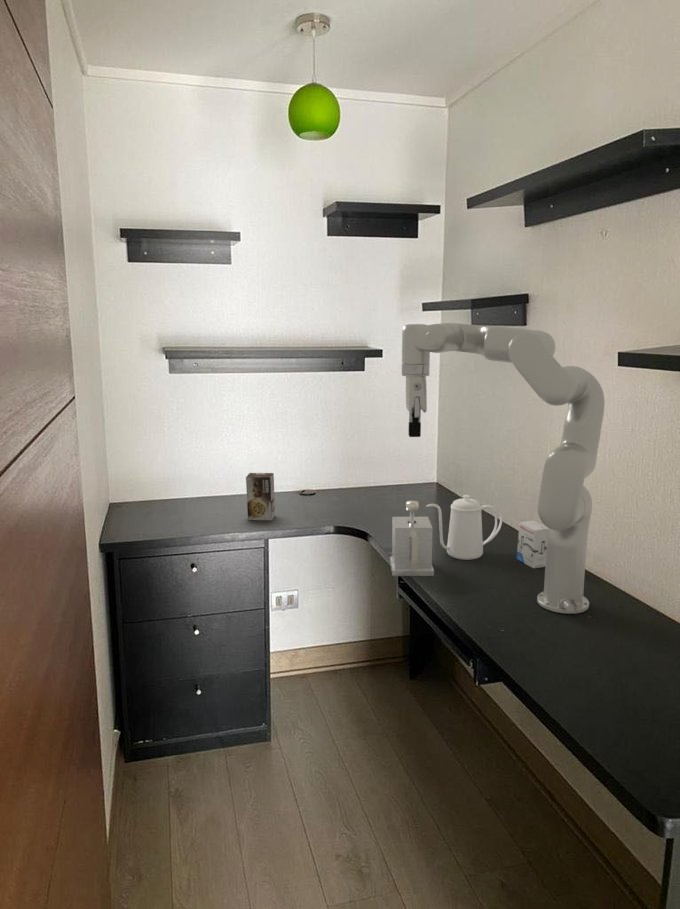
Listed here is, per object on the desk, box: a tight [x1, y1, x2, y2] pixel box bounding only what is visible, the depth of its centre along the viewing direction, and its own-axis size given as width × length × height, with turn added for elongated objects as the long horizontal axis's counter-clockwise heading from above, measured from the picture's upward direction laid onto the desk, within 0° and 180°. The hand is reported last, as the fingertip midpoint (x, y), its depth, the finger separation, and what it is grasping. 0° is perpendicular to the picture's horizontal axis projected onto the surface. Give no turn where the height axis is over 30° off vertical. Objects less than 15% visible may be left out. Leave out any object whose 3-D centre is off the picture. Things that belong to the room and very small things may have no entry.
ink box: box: [516, 520, 548, 569], centre depth 202 cm, size 9×5×12 cm, turn 21°
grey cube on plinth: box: [389, 516, 435, 577], centre depth 197 cm, size 14×12×14 cm
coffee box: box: [245, 472, 276, 521], centre depth 247 cm, size 9×6×16 cm
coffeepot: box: [425, 494, 504, 561], centre depth 208 cm, size 11×25×19 cm, turn 105°
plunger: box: [405, 499, 420, 523], centre depth 197 cm, size 7×7×18 cm
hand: (414, 436), depth 191 cm, fingers closed
